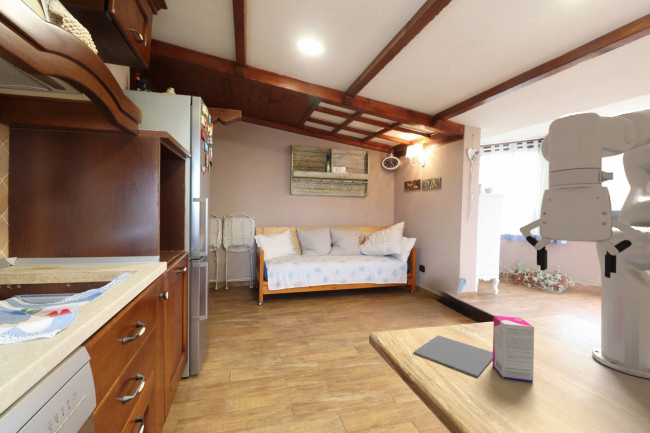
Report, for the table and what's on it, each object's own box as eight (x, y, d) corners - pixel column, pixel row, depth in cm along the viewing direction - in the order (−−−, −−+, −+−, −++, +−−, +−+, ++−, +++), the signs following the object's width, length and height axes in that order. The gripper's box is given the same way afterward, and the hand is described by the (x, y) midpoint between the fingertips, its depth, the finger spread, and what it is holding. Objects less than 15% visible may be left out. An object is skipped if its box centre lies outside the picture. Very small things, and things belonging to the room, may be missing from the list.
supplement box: (534, 383, 56) (535, 326, 56) (502, 379, 57) (502, 324, 57) (520, 368, 62) (521, 316, 62) (491, 365, 63) (491, 314, 63)
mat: (496, 355, 68) (496, 353, 68) (477, 377, 58) (477, 375, 58) (438, 336, 78) (438, 335, 78) (413, 353, 68) (413, 351, 68)
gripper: (641, 179, 49) (641, 277, 49) (523, 186, 62) (522, 265, 62) (645, 174, 44) (645, 284, 44) (514, 183, 56) (514, 269, 56)
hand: (573, 272), depth 53 cm, fingers open, 8 cm apart
